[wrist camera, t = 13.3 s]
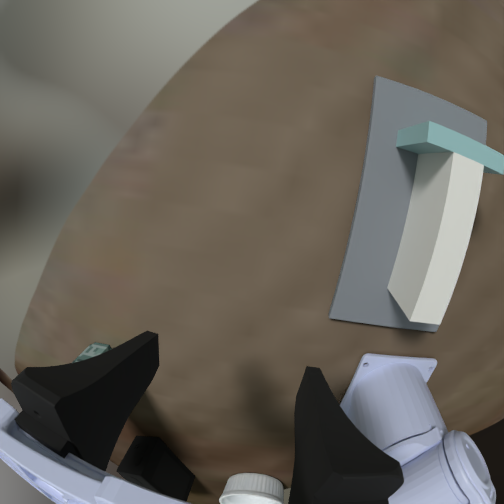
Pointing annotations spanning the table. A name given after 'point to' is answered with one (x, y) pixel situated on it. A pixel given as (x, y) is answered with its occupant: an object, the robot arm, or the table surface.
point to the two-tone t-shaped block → (438, 217)
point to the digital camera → (156, 468)
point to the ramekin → (252, 490)
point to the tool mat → (389, 202)
